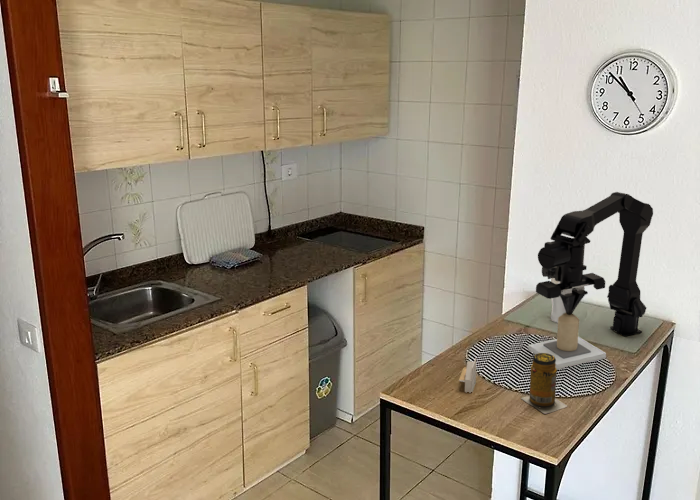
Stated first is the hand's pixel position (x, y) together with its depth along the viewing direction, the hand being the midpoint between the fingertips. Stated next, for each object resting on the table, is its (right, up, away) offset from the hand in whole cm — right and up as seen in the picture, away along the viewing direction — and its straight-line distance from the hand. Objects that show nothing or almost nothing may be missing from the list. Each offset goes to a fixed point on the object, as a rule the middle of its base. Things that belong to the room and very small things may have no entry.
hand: (568, 314), depth 179 cm
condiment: (-13, -20, -20) cm, 31 cm away
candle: (+1, -10, +3) cm, 10 cm away
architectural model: (-29, -18, -11) cm, 36 cm away
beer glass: (+6, -4, +26) cm, 27 cm away
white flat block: (+1, -11, +4) cm, 12 cm away
